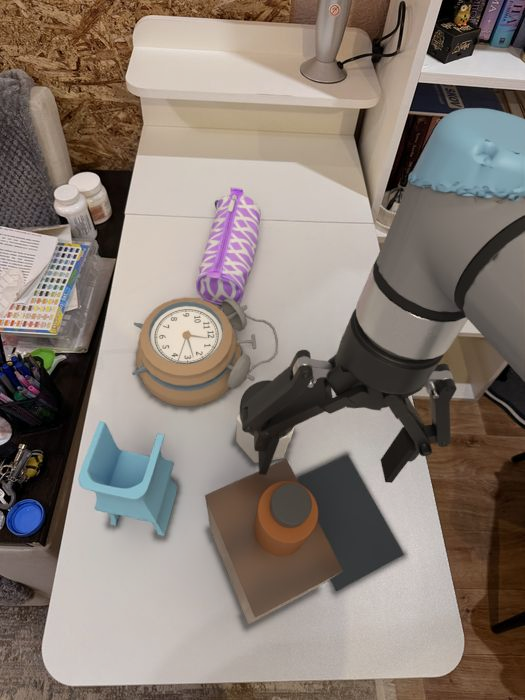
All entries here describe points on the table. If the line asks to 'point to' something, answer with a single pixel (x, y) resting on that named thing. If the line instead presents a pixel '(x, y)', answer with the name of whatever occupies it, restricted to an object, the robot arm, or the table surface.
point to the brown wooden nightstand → (252, 560)
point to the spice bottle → (285, 518)
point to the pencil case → (229, 248)
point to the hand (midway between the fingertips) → (325, 467)
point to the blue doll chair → (129, 480)
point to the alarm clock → (194, 351)
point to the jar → (248, 438)
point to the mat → (350, 521)
